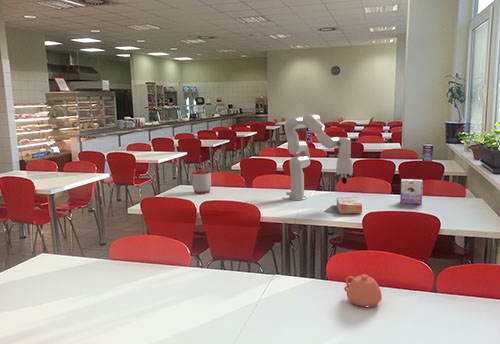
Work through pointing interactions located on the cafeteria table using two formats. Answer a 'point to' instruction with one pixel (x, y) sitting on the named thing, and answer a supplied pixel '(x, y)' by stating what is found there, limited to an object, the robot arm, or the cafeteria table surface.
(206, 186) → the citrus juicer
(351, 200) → the cracker box
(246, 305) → the cafeteria table surface
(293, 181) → the robot arm
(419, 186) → the candy box
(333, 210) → the mat
